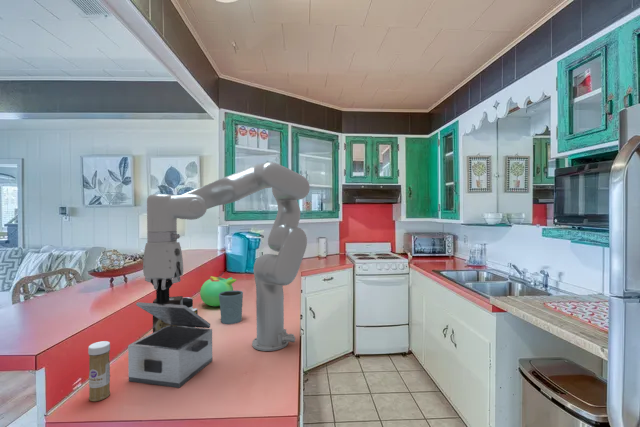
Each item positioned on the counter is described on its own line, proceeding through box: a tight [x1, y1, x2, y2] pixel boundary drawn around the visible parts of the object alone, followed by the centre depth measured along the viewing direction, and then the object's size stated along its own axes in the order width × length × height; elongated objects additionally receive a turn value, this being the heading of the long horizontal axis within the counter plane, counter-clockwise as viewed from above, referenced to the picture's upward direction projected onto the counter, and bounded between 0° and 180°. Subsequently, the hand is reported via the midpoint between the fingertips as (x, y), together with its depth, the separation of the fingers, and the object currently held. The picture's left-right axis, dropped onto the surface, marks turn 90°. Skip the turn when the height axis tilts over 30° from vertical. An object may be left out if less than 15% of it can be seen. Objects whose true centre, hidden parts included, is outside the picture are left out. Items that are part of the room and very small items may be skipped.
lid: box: [135, 301, 211, 329], centre depth 97 cm, size 16×17×2 cm
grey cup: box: [219, 290, 244, 325], centre depth 140 cm, size 10×10×12 cm
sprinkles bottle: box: [87, 340, 111, 402], centre depth 82 cm, size 5×5×14 cm
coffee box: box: [152, 295, 184, 333], centre depth 115 cm, size 9×6×16 cm
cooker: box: [127, 325, 213, 389], centre depth 95 cm, size 20×16×10 cm
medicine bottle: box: [183, 296, 199, 328], centre depth 131 cm, size 7×7×12 cm
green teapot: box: [199, 275, 237, 307], centre depth 163 cm, size 18×17×15 cm
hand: (162, 302), depth 92 cm, fingers closed
